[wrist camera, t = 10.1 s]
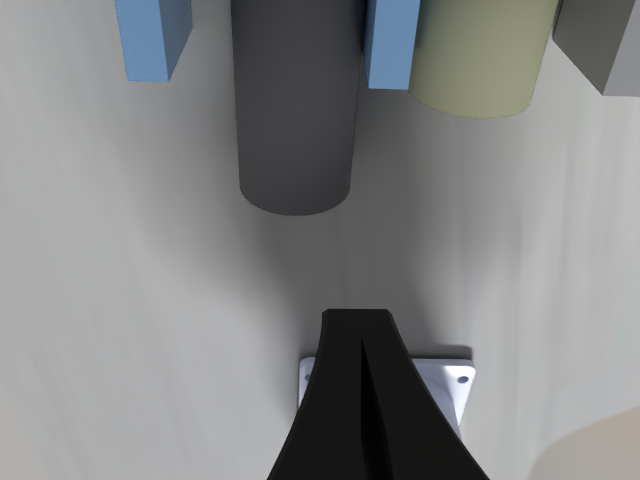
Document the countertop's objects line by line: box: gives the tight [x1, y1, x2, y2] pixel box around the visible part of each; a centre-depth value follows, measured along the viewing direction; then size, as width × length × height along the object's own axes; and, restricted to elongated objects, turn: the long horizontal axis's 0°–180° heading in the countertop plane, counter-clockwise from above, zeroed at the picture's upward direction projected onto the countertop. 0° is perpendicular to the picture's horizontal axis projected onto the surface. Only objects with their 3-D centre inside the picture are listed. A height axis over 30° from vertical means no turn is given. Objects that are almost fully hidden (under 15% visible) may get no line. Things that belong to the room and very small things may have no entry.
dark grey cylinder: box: [231, 0, 366, 216], centre depth 17 cm, size 10×4×4 cm, turn 178°
